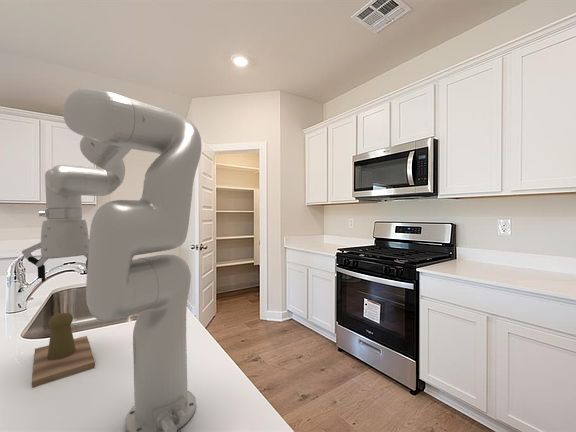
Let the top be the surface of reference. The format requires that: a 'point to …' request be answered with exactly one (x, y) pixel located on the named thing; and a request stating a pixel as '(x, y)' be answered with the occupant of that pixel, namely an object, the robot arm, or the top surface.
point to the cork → (61, 337)
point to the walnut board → (62, 363)
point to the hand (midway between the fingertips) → (66, 277)
